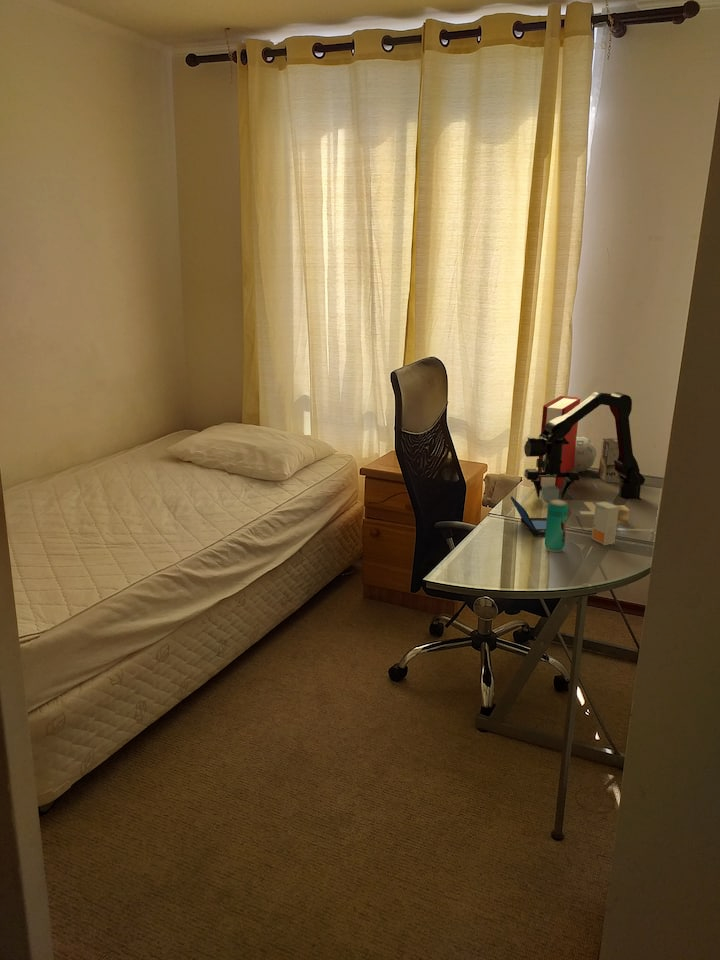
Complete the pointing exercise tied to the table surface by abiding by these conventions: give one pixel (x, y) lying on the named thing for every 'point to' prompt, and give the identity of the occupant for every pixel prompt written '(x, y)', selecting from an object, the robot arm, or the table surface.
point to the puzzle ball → (583, 454)
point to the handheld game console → (531, 521)
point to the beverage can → (556, 525)
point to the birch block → (623, 514)
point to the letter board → (583, 507)
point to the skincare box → (605, 523)
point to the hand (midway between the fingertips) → (549, 497)
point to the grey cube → (549, 493)
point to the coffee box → (609, 460)
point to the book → (553, 411)
